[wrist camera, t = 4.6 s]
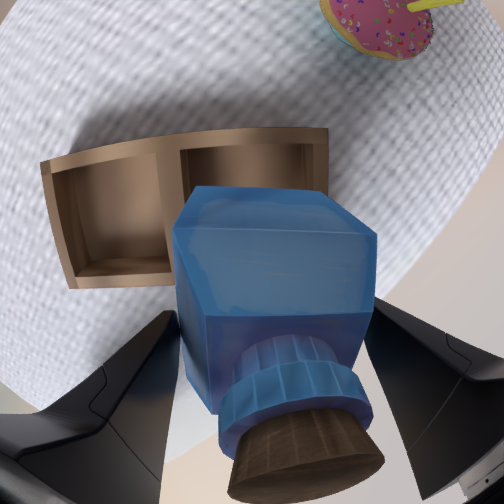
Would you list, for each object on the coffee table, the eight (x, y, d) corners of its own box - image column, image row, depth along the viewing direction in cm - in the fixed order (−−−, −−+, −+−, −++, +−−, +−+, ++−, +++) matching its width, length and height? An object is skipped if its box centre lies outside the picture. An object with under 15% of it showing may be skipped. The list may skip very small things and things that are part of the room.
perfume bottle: (320, 191, 14) (506, 358, 3) (304, 295, 16) (381, 491, 5) (196, 186, 13) (89, 404, 2) (198, 295, 16) (175, 514, 5)
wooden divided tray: (88, 266, 22) (69, 288, 19) (66, 156, 18) (39, 162, 15) (309, 251, 23) (323, 274, 20) (310, 128, 19) (328, 128, 16)
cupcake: (407, 22, 15) (500, -11, 4) (381, 89, 18) (493, 76, 7) (323, -28, 13) (383, -103, 2) (287, 37, 16) (345, -44, 5)
